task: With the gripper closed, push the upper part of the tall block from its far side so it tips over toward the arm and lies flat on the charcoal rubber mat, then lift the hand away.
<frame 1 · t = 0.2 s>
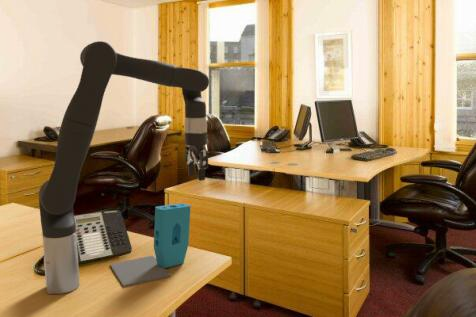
hand: (196, 177, 145), 29 cm above the table, tool pointing down, fingers open, 8 cm apart
mat: (139, 270, 140), on the table
block: (170, 263, 145), on the table, touching mat
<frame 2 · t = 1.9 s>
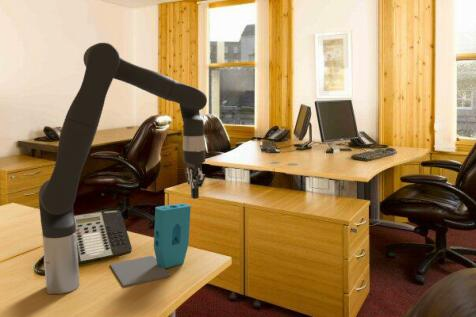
hand: (195, 198, 146), 22 cm above the table, tool pointing down, fingers closed
nothing on the table moved.
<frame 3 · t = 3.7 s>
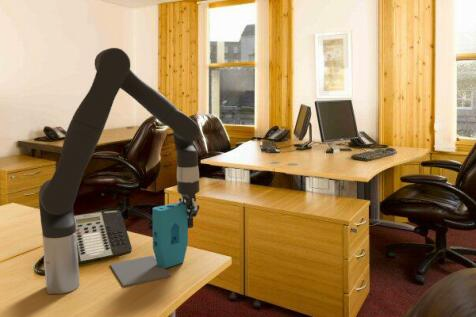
hand: (189, 227, 147), 12 cm above the table, tool pointing down, fingers closed
block: (170, 263, 145), on the table, touching gripper, mat
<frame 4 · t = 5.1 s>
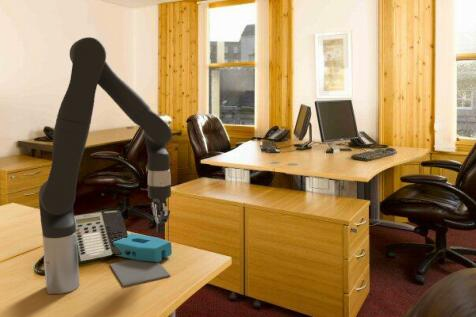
hand: (160, 233, 142), 12 cm above the table, tool pointing down, fingers closed
block: (164, 252, 147), point 3 cm above the table, touching mat
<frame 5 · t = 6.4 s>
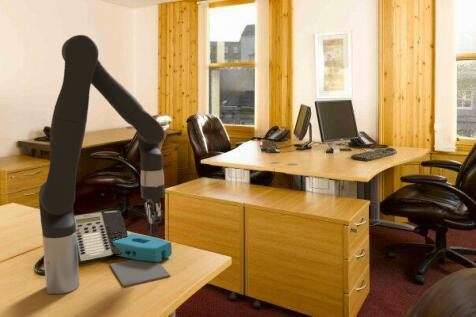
hand: (154, 233, 141), 12 cm above the table, tool pointing down, fingers closed
nothing on the table moved.
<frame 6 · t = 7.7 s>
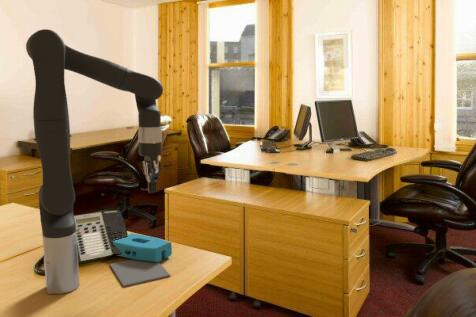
hand: (152, 192, 140), 26 cm above the table, tool pointing down, fingers closed
nothing on the table moved.
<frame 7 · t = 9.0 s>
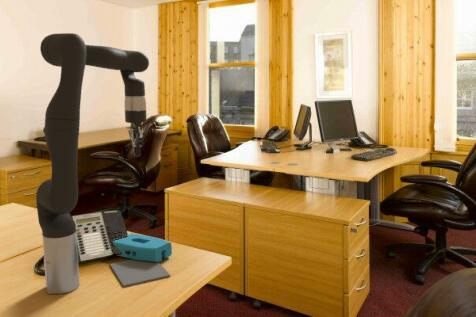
hand: (137, 156, 154), 35 cm above the table, tool pointing down, fingers closed
nothing on the table moved.
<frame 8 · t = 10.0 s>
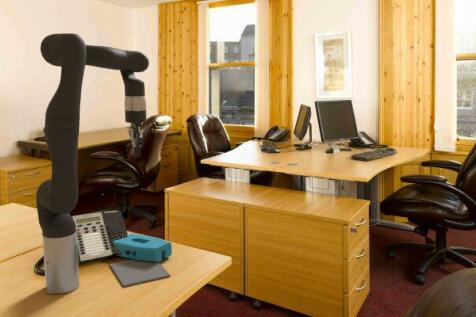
hand: (137, 156, 154), 35 cm above the table, tool pointing down, fingers closed
nothing on the table moved.
at the end: block tilted 92°; block touching mat, table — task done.
